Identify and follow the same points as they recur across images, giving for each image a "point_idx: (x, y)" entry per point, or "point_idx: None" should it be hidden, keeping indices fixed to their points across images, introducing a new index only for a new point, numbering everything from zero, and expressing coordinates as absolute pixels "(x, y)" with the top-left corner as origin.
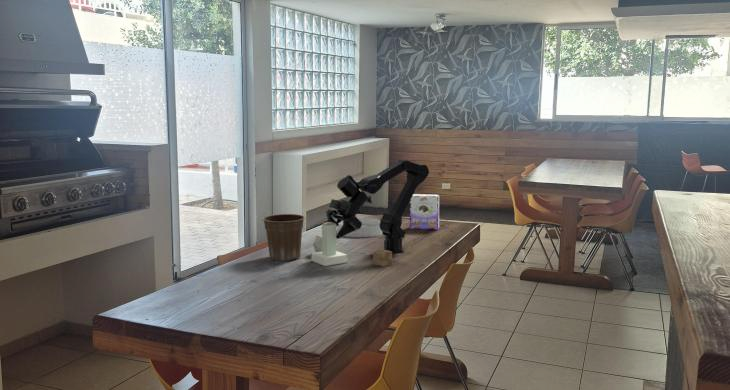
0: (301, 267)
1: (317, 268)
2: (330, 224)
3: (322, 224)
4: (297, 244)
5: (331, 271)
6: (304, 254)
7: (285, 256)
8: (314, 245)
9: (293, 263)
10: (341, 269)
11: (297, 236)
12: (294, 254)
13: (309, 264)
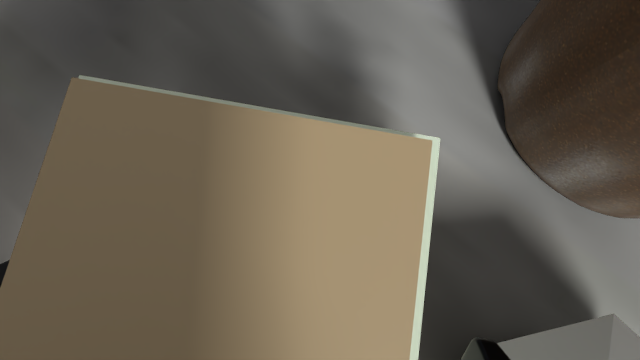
0: (293, 19)
1: (188, 76)
2: (32, 214)
3: (398, 134)
4: (572, 68)
5: (46, 92)
6: (616, 278)
7: (526, 19)
8: (587, 321)
9: (422, 46)
10: (22, 182)
11: (638, 6)
12: (516, 81)
13: (321, 106)
